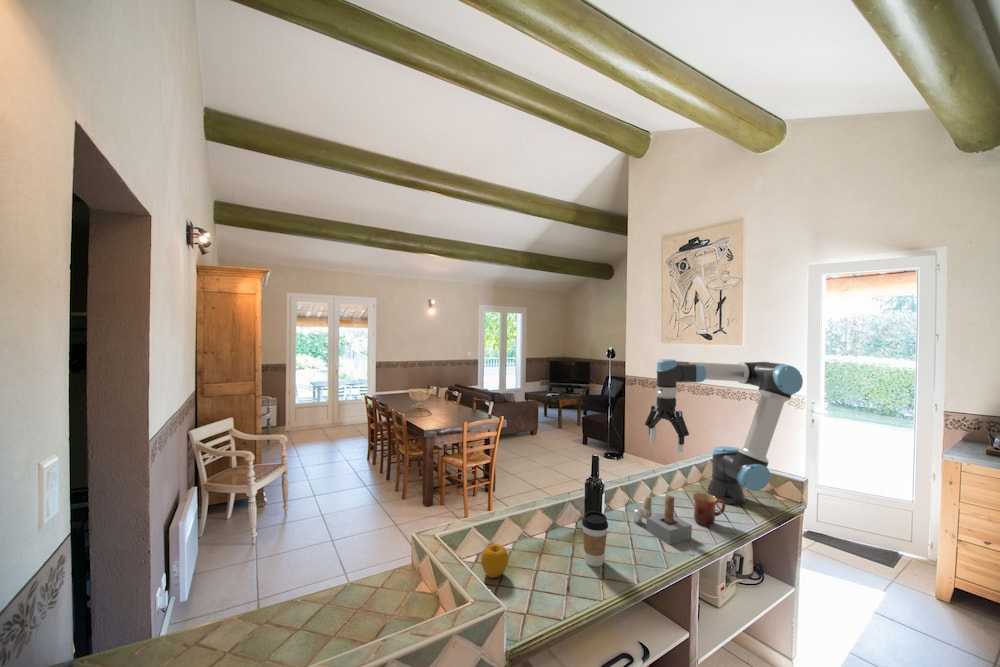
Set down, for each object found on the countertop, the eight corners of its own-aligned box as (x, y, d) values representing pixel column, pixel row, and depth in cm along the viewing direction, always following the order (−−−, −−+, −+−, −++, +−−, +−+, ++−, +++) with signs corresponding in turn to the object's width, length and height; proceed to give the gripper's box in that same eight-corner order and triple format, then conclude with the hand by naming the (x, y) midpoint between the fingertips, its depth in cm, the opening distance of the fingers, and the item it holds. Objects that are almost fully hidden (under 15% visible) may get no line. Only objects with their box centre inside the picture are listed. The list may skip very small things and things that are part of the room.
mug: (696, 527, 161) (697, 501, 161) (688, 516, 170) (689, 492, 170) (729, 529, 160) (730, 503, 160) (719, 518, 169) (720, 493, 169)
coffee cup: (608, 557, 139) (609, 512, 139) (605, 571, 131) (607, 524, 131) (582, 552, 142) (583, 508, 141) (579, 565, 134) (580, 519, 133)
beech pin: (646, 514, 171) (647, 495, 171) (652, 517, 168) (653, 498, 168) (640, 515, 170) (641, 496, 170) (646, 519, 167) (647, 499, 167)
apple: (499, 587, 122) (499, 557, 122) (474, 578, 126) (475, 549, 126) (512, 572, 129) (513, 544, 129) (489, 564, 134) (489, 537, 133)
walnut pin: (668, 531, 157) (669, 494, 157) (674, 535, 155) (676, 498, 154) (661, 533, 156) (663, 496, 156) (668, 537, 153) (669, 499, 153)
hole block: (667, 525, 163) (668, 512, 162) (691, 538, 153) (691, 525, 153) (646, 530, 158) (646, 517, 158) (669, 544, 148) (669, 530, 148)
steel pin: (638, 520, 166) (638, 507, 166) (644, 523, 163) (644, 511, 163) (631, 521, 165) (632, 509, 165) (637, 525, 162) (638, 512, 162)
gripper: (637, 392, 182) (636, 441, 183) (686, 402, 160) (685, 457, 160) (649, 391, 185) (648, 438, 186) (699, 401, 163) (698, 454, 164)
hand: (665, 447), depth 173 cm, fingers open, 13 cm apart
